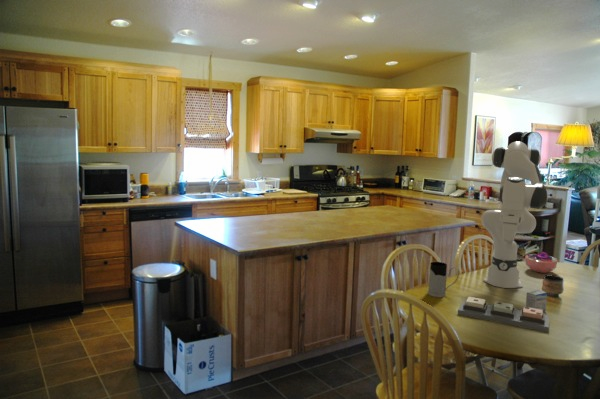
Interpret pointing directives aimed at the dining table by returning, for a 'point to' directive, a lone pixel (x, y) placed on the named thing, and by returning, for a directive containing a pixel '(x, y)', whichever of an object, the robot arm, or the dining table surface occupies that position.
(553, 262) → the cell model
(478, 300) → the key one
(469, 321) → the dining table surface
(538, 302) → the medicine box
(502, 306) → the key two
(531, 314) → the key three
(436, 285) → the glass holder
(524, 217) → the robot arm
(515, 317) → the key panel
